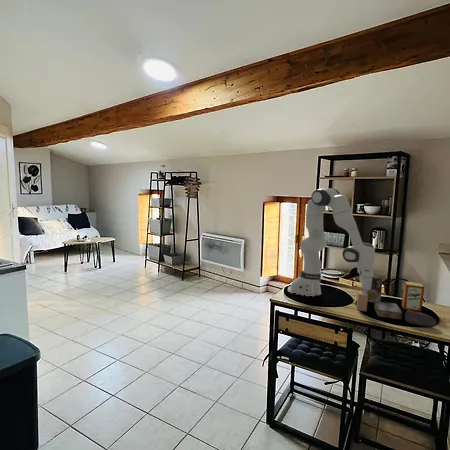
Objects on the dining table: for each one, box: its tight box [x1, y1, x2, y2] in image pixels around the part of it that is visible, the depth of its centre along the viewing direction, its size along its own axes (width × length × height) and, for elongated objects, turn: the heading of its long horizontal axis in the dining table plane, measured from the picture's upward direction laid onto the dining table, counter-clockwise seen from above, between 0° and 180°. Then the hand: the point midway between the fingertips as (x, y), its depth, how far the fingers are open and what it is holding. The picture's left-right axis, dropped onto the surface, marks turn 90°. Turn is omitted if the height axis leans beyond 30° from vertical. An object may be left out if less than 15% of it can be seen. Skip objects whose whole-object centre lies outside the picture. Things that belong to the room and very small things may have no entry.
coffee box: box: [367, 275, 384, 303], centre depth 209 cm, size 9×6×16 cm
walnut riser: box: [373, 301, 403, 320], centre depth 190 cm, size 12×14×4 cm
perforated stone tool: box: [404, 310, 437, 328], centre depth 176 cm, size 15×5×7 cm, turn 61°
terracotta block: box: [356, 291, 368, 312], centre depth 194 cm, size 5×5×10 cm
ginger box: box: [401, 281, 425, 313], centre depth 198 cm, size 10×6×16 cm
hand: (363, 292), depth 193 cm, fingers open, 8 cm apart
